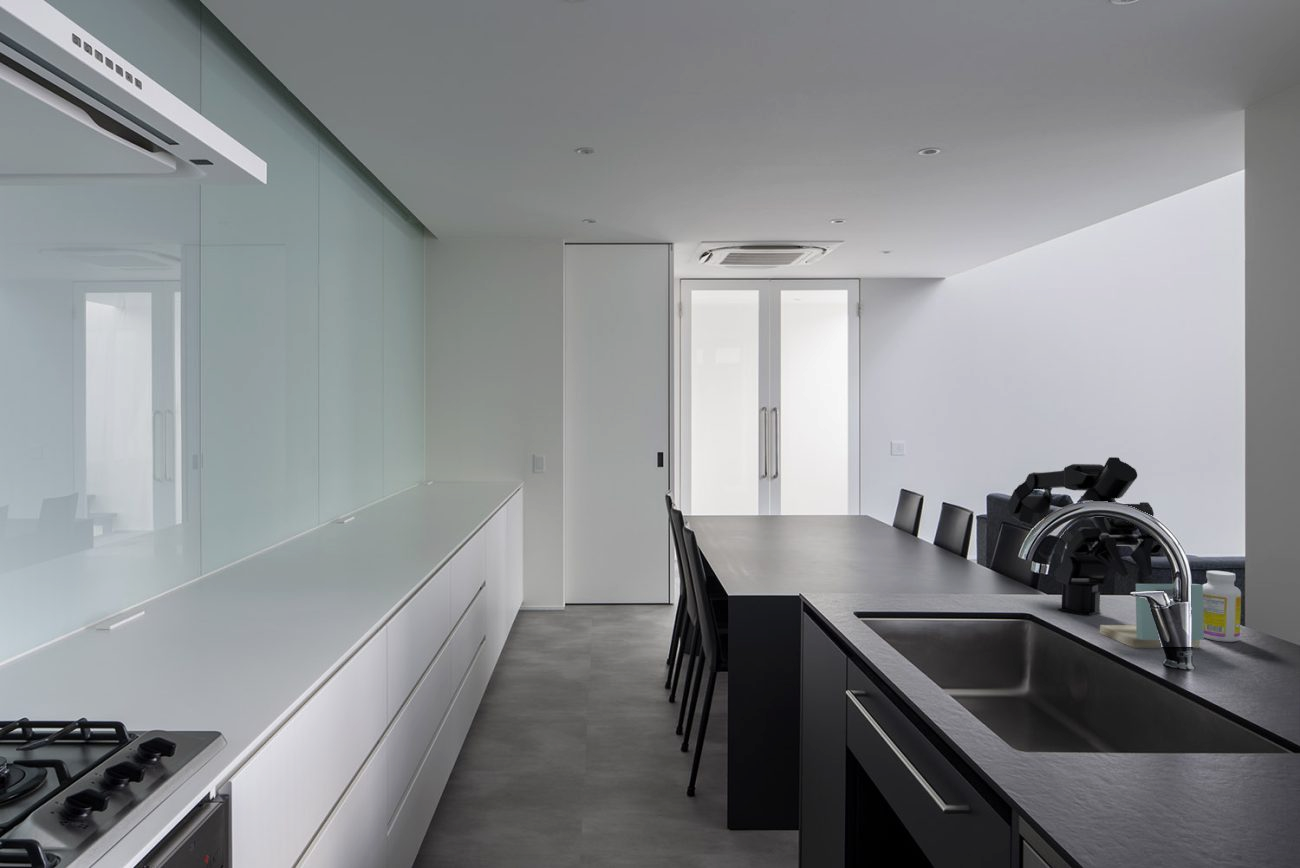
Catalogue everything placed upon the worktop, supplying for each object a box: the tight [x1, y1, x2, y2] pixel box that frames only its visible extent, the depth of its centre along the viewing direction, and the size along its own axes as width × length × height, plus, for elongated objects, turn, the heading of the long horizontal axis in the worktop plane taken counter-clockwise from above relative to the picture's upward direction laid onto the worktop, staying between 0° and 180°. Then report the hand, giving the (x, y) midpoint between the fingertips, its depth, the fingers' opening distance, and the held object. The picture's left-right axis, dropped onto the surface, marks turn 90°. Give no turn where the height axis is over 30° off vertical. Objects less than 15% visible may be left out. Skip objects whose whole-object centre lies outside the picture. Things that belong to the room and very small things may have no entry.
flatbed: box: [1099, 624, 1201, 649], centre depth 160 cm, size 10×13×2 cm
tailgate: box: [1135, 583, 1205, 641], centre depth 154 cm, size 2×12×10 cm, turn 95°
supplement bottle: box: [1202, 570, 1242, 643], centre depth 162 cm, size 7×7×13 cm
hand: (1138, 576), depth 163 cm, fingers open, 5 cm apart
